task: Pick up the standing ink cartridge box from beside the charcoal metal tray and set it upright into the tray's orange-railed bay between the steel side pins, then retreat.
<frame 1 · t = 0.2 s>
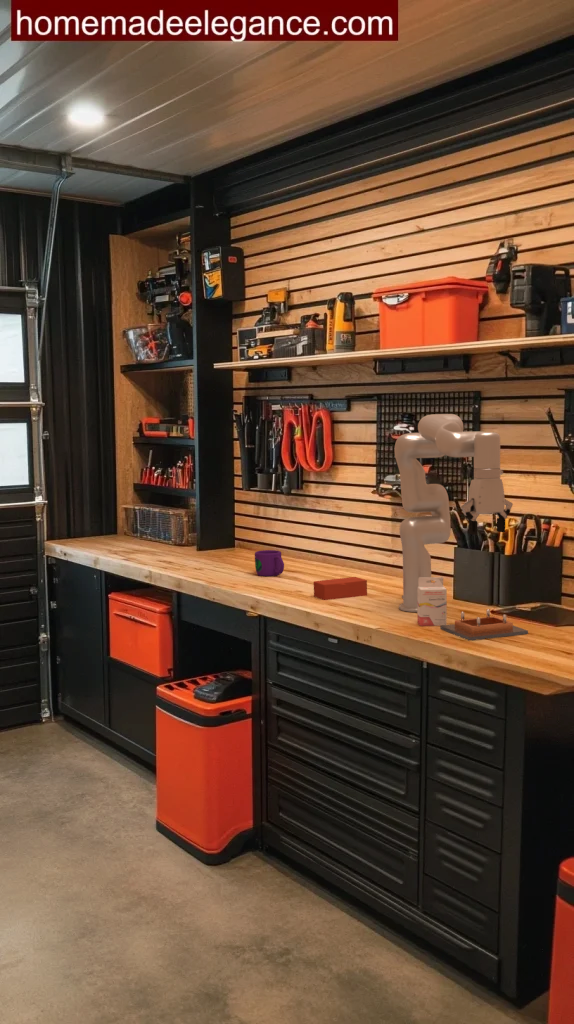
hand: (487, 533, 265), 31 cm above the workbench, tool pointing down, fingers open, 9 cm apart
mug: (272, 576, 386), on the workbench
cartridge tray: (483, 631, 274), on the workbench
ink cartridge box: (432, 624, 286), on the workbench
brick: (340, 597, 337), on the workbench
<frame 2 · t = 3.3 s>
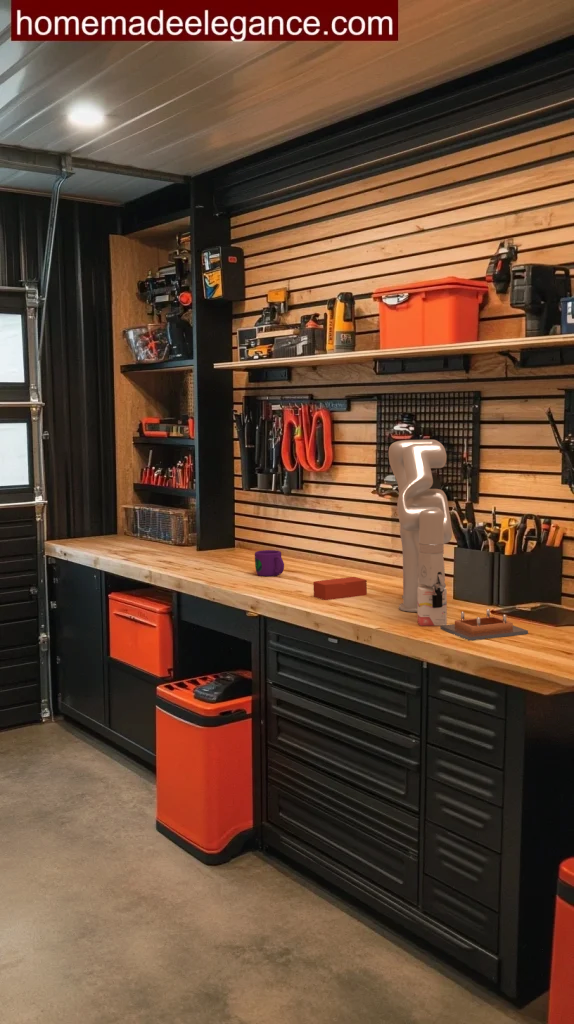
hand: (432, 605, 285), 6 cm above the workbench, tool pointing down, fingers closed on ink cartridge box, 6 cm apart
ink cartridge box: (432, 624, 286), on the workbench, touching gripper
everything else where it was.
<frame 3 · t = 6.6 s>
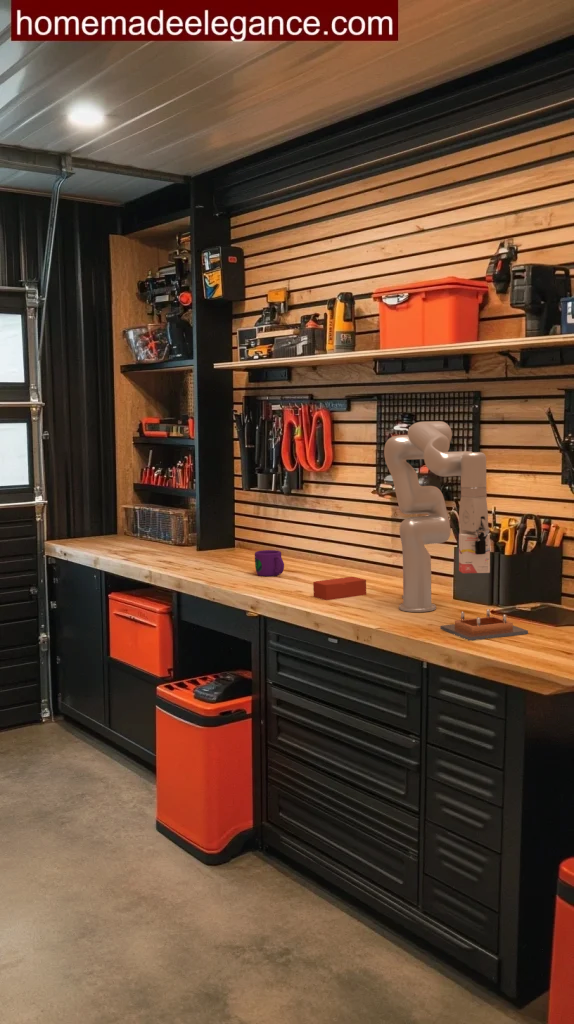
hand: (474, 552, 274), 24 cm above the workbench, tool pointing down, fingers closed on ink cartridge box, 6 cm apart
ink cartridge box: (474, 572, 274), point 18 cm above the workbench, touching gripper
everything else where it was.
when the fingers open (8 cm above the workbench, at t = 10.3 s): ink cartridge box drops 1 cm, resting on cartridge tray.
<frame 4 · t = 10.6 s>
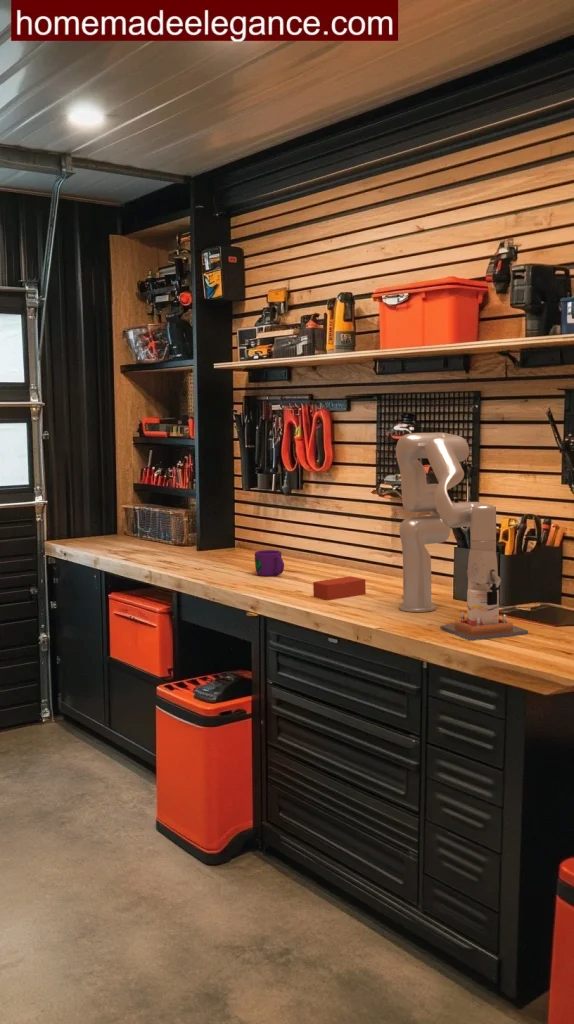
hand: (483, 601, 274), 9 cm above the workbench, tool pointing down, fingers open, 9 cm apart
ink cartridge box: (482, 628, 274), point 1 cm above the workbench, touching cartridge tray
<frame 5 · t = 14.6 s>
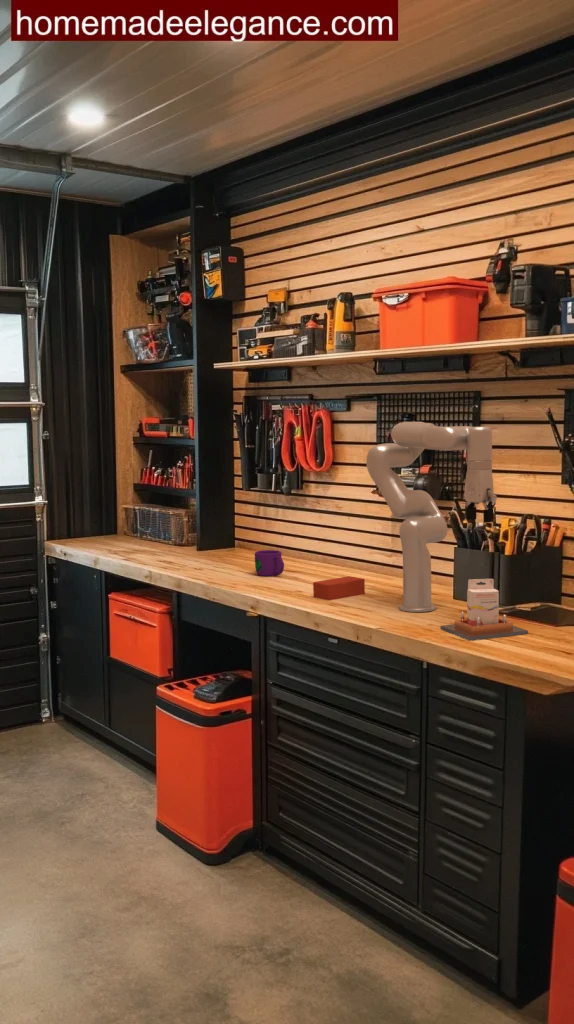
hand: (479, 520, 284), 32 cm above the workbench, tool pointing down, fingers open, 9 cm apart
at the end: ink cartridge box 0.1 cm off-centre on the cartridge tray, point 0.8 cm above the cartridge tray's base; ink cartridge box tilted 0°; the gripper is holding nothing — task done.
